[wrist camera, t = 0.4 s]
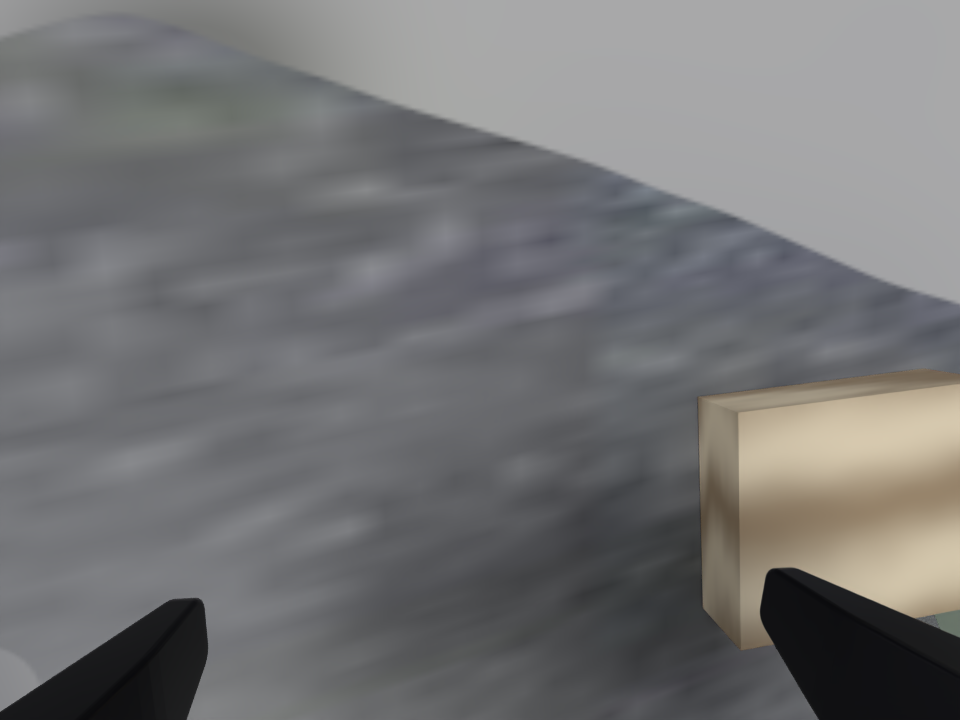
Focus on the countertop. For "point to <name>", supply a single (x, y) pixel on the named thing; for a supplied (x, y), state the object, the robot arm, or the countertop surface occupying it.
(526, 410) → the countertop surface
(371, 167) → the countertop surface
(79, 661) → the robot arm
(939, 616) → the tall block
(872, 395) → the slab
